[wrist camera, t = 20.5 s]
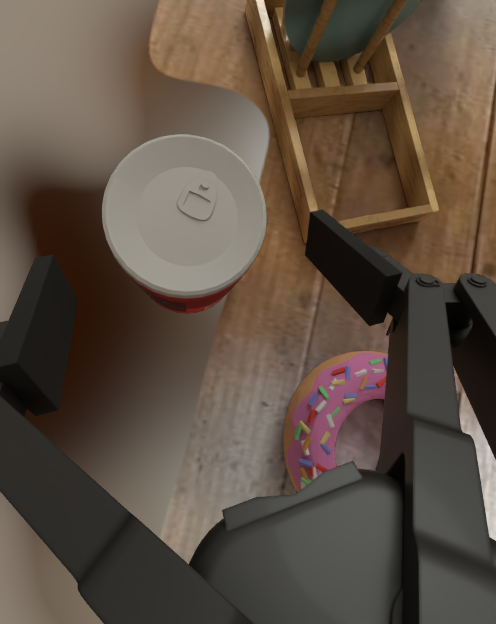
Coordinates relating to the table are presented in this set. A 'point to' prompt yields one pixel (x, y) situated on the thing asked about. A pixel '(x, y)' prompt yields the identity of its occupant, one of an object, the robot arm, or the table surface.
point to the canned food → (184, 220)
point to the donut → (328, 410)
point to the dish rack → (339, 89)
